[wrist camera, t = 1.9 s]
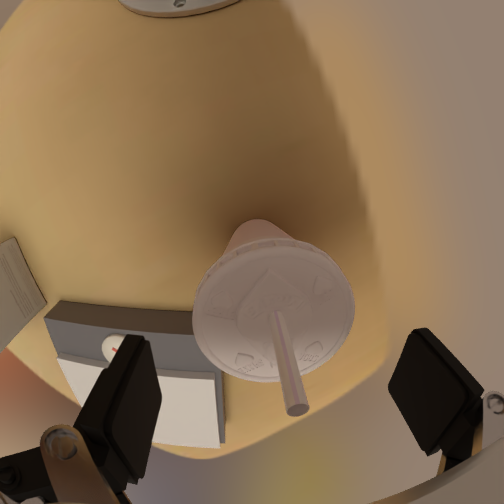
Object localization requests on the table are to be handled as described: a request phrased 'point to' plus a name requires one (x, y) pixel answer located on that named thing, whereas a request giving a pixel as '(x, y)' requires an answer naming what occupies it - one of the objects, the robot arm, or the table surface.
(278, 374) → the smoothie
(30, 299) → the supplement box
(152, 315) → the scale
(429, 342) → the robot arm
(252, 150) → the table surface
